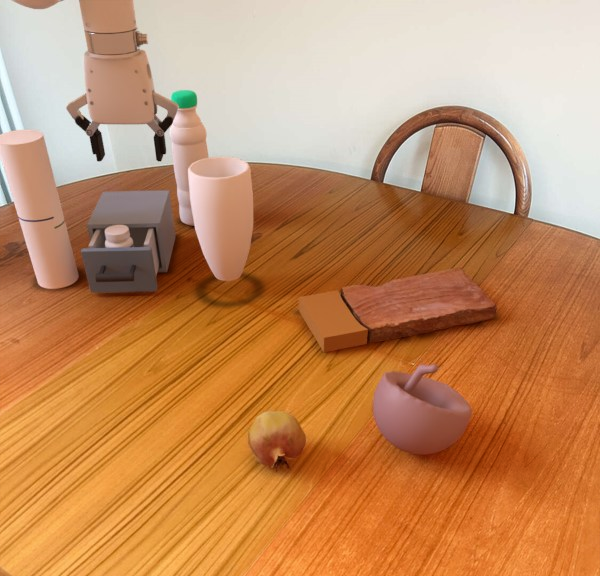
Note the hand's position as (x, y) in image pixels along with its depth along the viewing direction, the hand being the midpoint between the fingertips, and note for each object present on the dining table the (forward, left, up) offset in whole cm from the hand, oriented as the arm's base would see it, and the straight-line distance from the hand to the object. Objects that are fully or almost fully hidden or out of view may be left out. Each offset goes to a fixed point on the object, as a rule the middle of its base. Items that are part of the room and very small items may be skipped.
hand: (130, 158), depth 108 cm
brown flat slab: (+43, -18, -21) cm, 51 cm away
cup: (+15, -8, -21) cm, 27 cm away
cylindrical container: (-16, -3, -21) cm, 26 cm away
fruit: (+23, -50, -21) cm, 59 cm away
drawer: (-3, -5, -19) cm, 20 cm away
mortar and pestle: (+41, -48, -21) cm, 67 cm away
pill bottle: (-3, -5, -19) cm, 20 cm away
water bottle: (+7, +21, -21) cm, 30 cm away
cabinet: (-3, +6, -20) cm, 21 cm away
